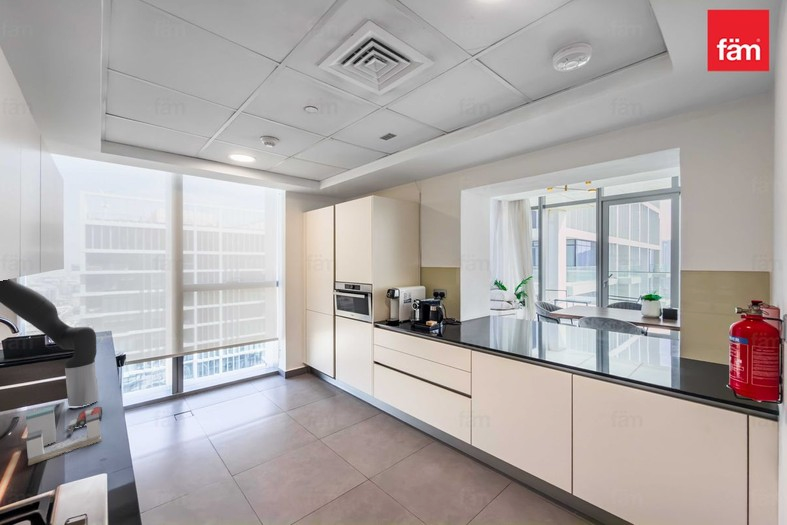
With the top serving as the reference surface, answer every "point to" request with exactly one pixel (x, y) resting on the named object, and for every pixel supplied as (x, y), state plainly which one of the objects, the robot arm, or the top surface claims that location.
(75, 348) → the robot arm
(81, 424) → the walkie-talkie
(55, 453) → the wood panel
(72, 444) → the rail
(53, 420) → the block
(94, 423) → the mounted modules
